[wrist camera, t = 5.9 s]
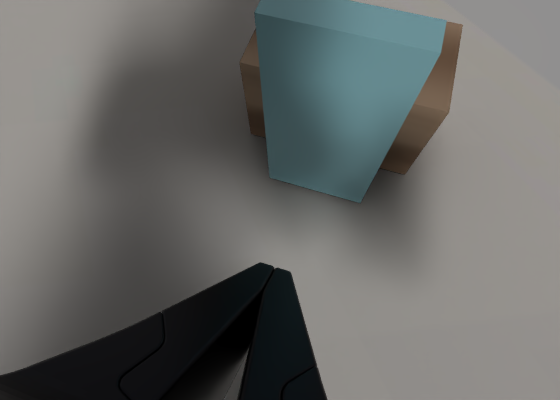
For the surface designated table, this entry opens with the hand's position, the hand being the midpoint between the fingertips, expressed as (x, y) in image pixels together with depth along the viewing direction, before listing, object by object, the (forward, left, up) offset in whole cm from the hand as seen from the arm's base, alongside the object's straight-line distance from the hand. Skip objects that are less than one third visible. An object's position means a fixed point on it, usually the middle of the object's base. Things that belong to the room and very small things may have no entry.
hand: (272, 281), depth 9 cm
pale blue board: (+7, +6, -8) cm, 12 cm away
